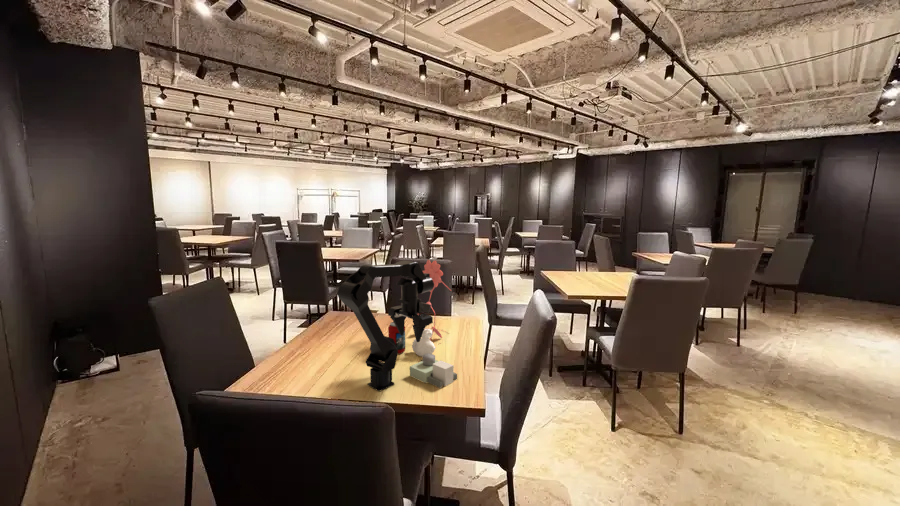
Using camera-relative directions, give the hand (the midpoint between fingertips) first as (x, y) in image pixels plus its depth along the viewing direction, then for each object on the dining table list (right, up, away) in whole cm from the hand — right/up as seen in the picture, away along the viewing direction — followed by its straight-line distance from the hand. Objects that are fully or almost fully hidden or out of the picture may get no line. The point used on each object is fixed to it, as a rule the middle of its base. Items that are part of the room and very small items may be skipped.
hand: (410, 338), depth 135 cm
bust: (+4, -10, +16) cm, 20 cm away
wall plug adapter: (+9, -13, -4) cm, 16 cm away
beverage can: (-7, -10, +19) cm, 22 cm away
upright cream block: (+12, -13, -7) cm, 19 cm away
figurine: (+7, -7, +38) cm, 39 cm away
